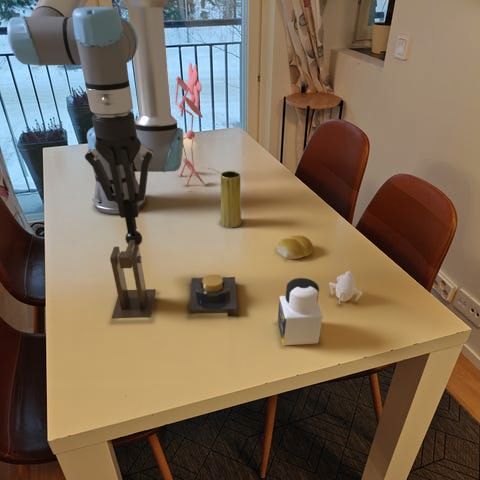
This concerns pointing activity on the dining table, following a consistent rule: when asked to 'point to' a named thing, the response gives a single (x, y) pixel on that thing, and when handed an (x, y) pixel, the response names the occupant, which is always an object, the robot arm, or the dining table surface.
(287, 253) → the bread roll
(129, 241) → the flush lever
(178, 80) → the figurine
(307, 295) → the medicine bottle
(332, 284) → the rocket toy
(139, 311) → the lever bracket
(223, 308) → the button base
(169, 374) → the dining table surface
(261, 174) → the dining table surface
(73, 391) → the dining table surface
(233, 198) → the vase
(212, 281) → the tan short cylinder
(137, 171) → the robot arm
